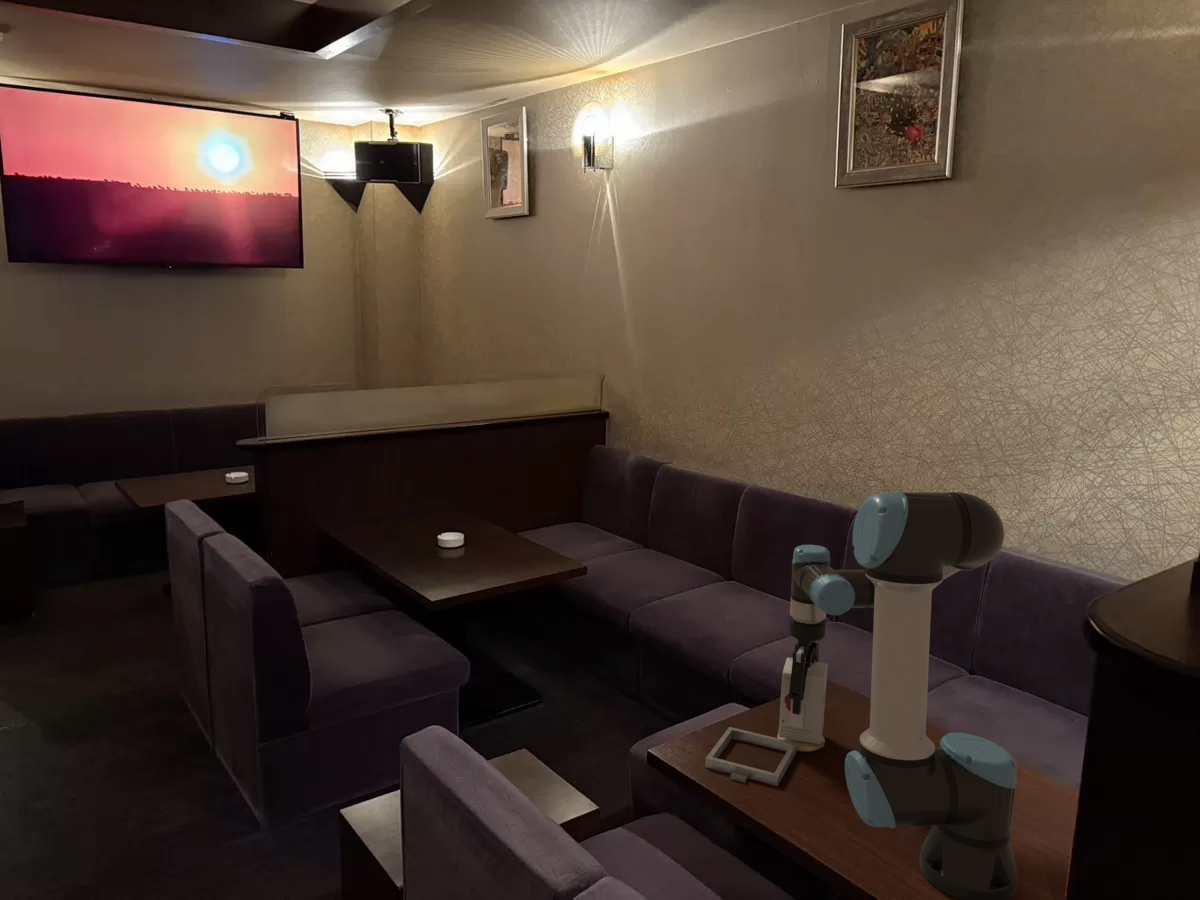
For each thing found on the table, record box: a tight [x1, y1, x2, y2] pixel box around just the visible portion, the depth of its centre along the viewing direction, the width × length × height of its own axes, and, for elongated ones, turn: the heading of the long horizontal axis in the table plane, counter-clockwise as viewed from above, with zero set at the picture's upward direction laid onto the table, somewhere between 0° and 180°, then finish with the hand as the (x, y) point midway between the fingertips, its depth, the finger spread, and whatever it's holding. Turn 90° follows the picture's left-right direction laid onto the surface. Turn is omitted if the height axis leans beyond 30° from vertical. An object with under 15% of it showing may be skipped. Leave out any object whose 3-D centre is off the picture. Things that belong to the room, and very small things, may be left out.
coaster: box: [776, 731, 826, 753], centre depth 190 cm, size 10×10×1 cm
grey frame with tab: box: [704, 726, 798, 787], centre depth 182 cm, size 19×15×2 cm
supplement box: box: [778, 657, 829, 744], centre depth 189 cm, size 9×9×15 cm
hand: (802, 716), depth 189 cm, fingers closed on supplement box, 9 cm apart
